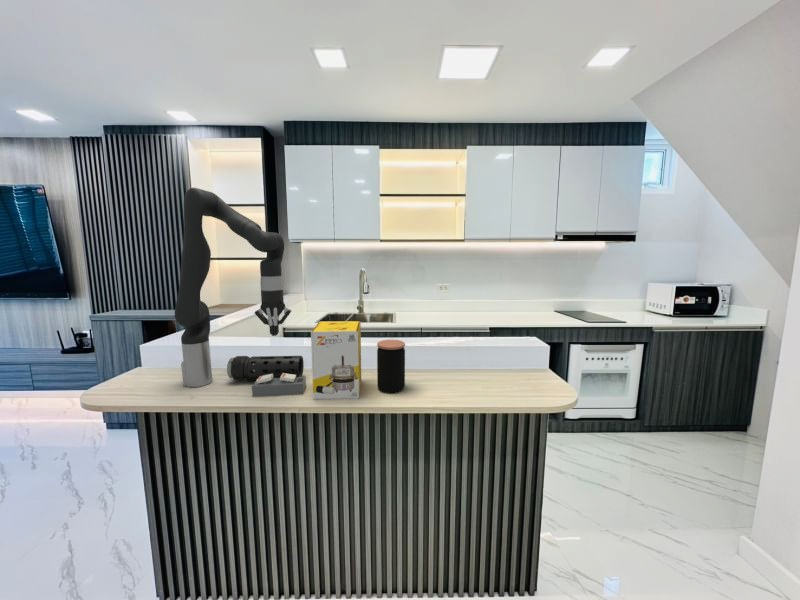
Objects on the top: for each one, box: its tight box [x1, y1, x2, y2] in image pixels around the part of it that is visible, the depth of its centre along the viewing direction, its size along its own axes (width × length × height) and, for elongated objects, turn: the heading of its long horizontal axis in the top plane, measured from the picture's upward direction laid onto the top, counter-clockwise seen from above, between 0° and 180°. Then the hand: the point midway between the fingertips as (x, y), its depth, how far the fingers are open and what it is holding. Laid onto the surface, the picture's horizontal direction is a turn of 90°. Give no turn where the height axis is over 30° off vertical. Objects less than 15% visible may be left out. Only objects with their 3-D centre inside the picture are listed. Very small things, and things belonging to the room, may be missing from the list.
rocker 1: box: [257, 373, 274, 384], centre depth 123 cm, size 5×4×1 cm
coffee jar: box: [376, 339, 406, 394], centre depth 127 cm, size 11×11×18 cm
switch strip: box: [251, 376, 307, 398], centre depth 125 cm, size 18×7×4 cm, turn 97°
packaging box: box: [310, 320, 362, 401], centre depth 125 cm, size 16×16×25 cm
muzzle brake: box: [226, 355, 305, 382], centre depth 135 cm, size 10×28×10 cm, turn 94°
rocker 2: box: [280, 373, 296, 382], centre depth 125 cm, size 5×4×1 cm
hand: (274, 335), depth 122 cm, fingers closed
